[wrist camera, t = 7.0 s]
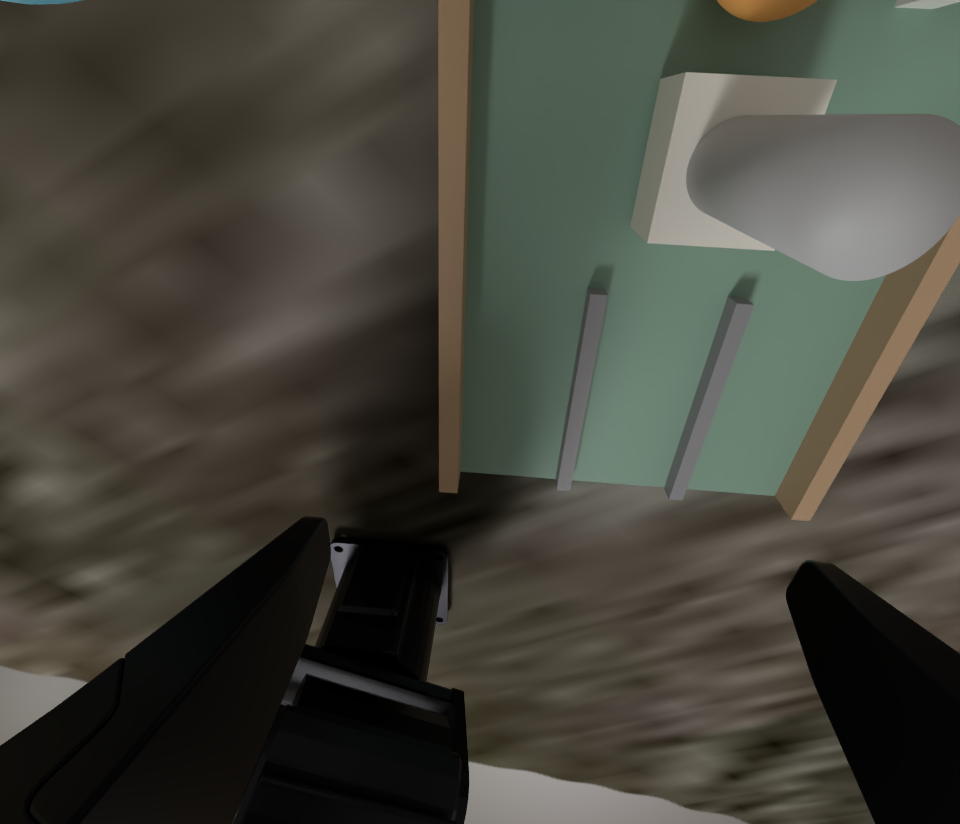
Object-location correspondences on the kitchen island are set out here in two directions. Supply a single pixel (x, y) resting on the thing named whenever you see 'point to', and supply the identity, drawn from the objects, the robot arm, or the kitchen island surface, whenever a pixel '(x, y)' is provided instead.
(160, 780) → the robot arm
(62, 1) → the toy
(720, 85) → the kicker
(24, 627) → the kitchen island surface
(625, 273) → the pitch
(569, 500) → the kitchen island surface
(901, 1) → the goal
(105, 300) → the kitchen island surface
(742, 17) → the ball
